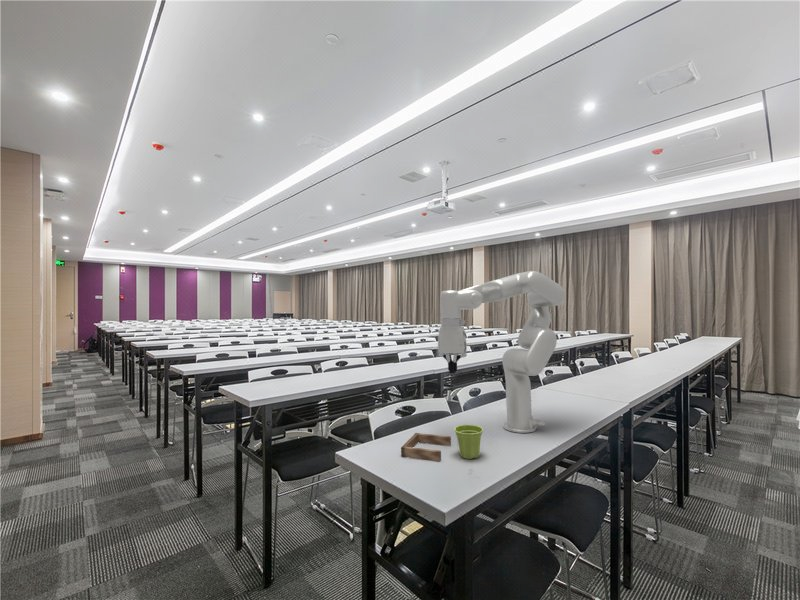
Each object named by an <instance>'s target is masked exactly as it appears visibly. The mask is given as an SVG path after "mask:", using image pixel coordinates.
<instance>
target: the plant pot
mask: <svg viewBox="0 0 800 600" xmlns="http://www.w3.org/2000/svg"><path fill="white" fill-rule="evenodd" d="M453 430H454V432H455V436H456V437H457V443H458V444H457V445H458V448H459V449H458V450H459V454H460V457H462V458H463V459H467V460H471V459H477V458H479V457H480V450H481V440H482V439H481V438H482V435H483V432H484V428H483V427H482V426H479V425H474V424H460V425H457V426H455V427H454V429H453Z"/></svg>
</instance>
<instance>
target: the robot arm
mask: <svg viewBox="0 0 800 600" xmlns="http://www.w3.org/2000/svg"><path fill="white" fill-rule="evenodd" d="M523 294H527V295H526V297H527V303H528V305H529V309H530V314H529V316H528V319H527V320H526V322H525V324H524V325H523V327H522V329H521V331H520V333H519V334H518V336H517V343H518V345H519V346H520V347H521V348H515V347H513V348H508V349H507V350H506V351H505V352H504V353H503V355H502V358H501V359H502V368H503V371H504V379H505V399H506V406H505V407H506V421H505V422H504V423H503V424H502V426H503V428H504V430H506V431H508V432H511V433H512V432H513V433H519V434H526V433H527V434H528V433H533V432H536V430H537V426H540V427H545V421H544V420H542V419H535V418H534V415H533V414H532V413H533V411H532V410H533V409H532V388H531V386H532V385H531V379H530V377H531V376H532V377H535V376H536V377H537V376H538V375H540V374H541V373H542V372H543V371H544V369H545V368H546V366H547V364H548V362H549V361H550V358H551V357H552V355H553V353H554V352H555V349H556V347H557V344H558V343H557V341H558V339H557V335H556V333H555V331H554V330H552V328H549V327H550V325H551V322H552V317H551V313H550V310H549V307H556V306H560V305H562V304H563V303H564V302H565V300H566V297H567V295H566V292H565V288H564V287H562V286H561V285H560V283H557V282H556V281H554V280H552V279H551V278H550V277H548V276H547V275H545V274H543V273H541V272H539V271H537V270H530V271H529V270H527V271H524V272H518V273H513V274H511V275H507V276H505V277H501V278H497V279H493V280H490V281H487V282H484V283H481V284H478V285H473V286H471V287H467V288H464V289H460V290H452V289H451V290H442V291H441V292H440V297H439V298H440V299H439V301H440V327H439V329H438V337H437V338H438V339H437V352H438V354H437V356H438V357H440V358H444V360H445V361H446V362H447V369H448V371H449V374H455V373H457V371H458V361H459V360H460V359H462V358H466V357H467V356H468V355H467V348H468V347H467V336H466V331H465V328H464V327H465V326H463V325H465V324H466V320H465V319H463V318H462V311H463V310H475V309H478V308H480V307H481V305H482V304H485V303H486V304H487V303H495V302H500V301H504V300H508V299H510V298H513V297H516V296H520V295H523ZM529 376H530V377H529Z"/></svg>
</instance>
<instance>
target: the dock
mask: <svg viewBox="0 0 800 600" xmlns="http://www.w3.org/2000/svg"><path fill="white" fill-rule="evenodd" d="M418 442H419V443H420V444H426V443H428V444H427V445H436V446H437V445H439V446H445V447H446V446H447V447H451V445H452V436H450V435H442V434H431V433H430V434H429V433H420V432H415V433H414V434H413V435H412V436H411V437H410V438H408V440H407V441H406V442H405V443H404V444H403V445H401V447H400V451H401V452H400V453H401V455H400V456H402V457H401V458H407V457H409V459H416V460H425V461H431V462H440V463H441V461H442V451H441V450H439V449H430V448H422V447H415V446H417V444H419V443H418ZM413 447H414V448H413Z"/></svg>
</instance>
